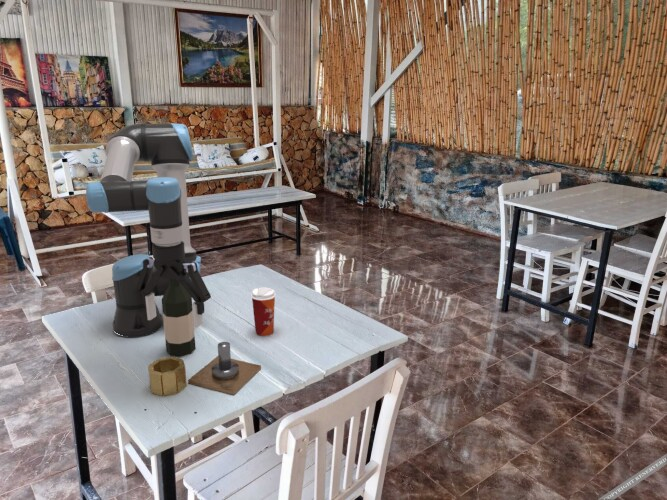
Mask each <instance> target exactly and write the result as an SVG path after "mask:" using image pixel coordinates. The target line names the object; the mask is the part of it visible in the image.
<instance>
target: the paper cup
mask: <svg viewBox="0 0 667 500" xmlns="http://www.w3.org/2000/svg"><path fill="white" fill-rule="evenodd" d="M276 296H277V294H276V292H275V290H274V289H272V288H270V287H256V288H254V289H253V290H252V292H251V294H250V297H251V300H252V311H253V320H254V328H255V329H254V330H255V334H256V335H257V336H259V337H268V336H270V335H272V334H273V333H274V326H275V299H276Z"/></svg>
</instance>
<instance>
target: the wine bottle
mask: <svg viewBox="0 0 667 500" xmlns="http://www.w3.org/2000/svg"><path fill="white" fill-rule="evenodd" d="M180 277H181V276H180ZM161 309H162V318H163V330H164V338H165V339H164V340H165V349H166V353H167V354H168V355H169V357H176V358H182V357H185V356H188V355H192V353H194V351H195V350H196V348H197V347H196V336H195V327H194V315H193V298H192V297H191V296H190V295H189V293H188V292H187V291H186V289H185V288H184V287H183V286H182V284H181V283H179V282H177V280H176V279H175V280H171V279H169V286H168V288H167V290H166V292H165V294H164V296H162V298H161Z"/></svg>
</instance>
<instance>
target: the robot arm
mask: <svg viewBox="0 0 667 500" xmlns="http://www.w3.org/2000/svg"><path fill="white" fill-rule="evenodd" d="M105 155H106V159H105V163H104V166H103V170H102V173H101V177H100V180H99V181H95V182H93V181H92V182H89V183H87V184H86V188H85V197H86V205H87V207H88V210H89V211H90V212H92V213H104V214H107V213H117V212H118V213H120V212H122V213H124V212H141V211H142V212H143V211H148V217H149V228H150V240H151V243H152V244H151V248H152V250H151V252H152V256H150V255H149V254H143V253H139V254H133V255H129V256H125V257H123V258H121V259H119V260H117V261H116V262H114V264H113V265H112V267H111V269H112V270H111V272H112V273H111V274H112V277H111V278H112V279H111V280H112V282H113V283H112V285H113V291H114V298H115V306H116V309H115V312H114V318H113V322H112V329H113V330H114V331H115V332H116V333H118V334H120V335H123V336H128V337H127V338H141V337H146V336H148V335H151V334H154V333H156V332H158V331H159V330H161V328H162V327H164V320H163V314H161V312H160V309H159V308H158V305H157V303H156V297H161V296H162V297H163V296H164V294H165V292H166V290H167V288H168V286H169V279H171V280H175V279H176V280H177V282H179V283H181V284H182V286H183V287H184V288H185V289H186V291H187V292H188V293H189V295H190V296H191V297H192V301H193V302H192V308H193V321H194V329H197V328H199V327H200V326H201V325H202V324H204V321H203V314H204V313H205V302H207V301H208V300H210V299H211V298H212V296H211V295H212V294H211V293H210V291H209V290H208V288H207V286H206V283H205V281H204V280H203V277H202V276H201V264H202V263H201V262H202V257H201V256H199V255H197V251H196V250H195V249H194V248H193V247H192V245H191V234H190V219H189V209H188V208H189V206H188V195H187V194H188V192H187V180H186V178H187V177H186V171H187V170H188V169H189V168H190V162H192V161H194V152H193V147H192V143H191V137H190V134H189V129H188V127H187V126H186V124H184V123H183V124H182V123H172V122H170V123H165V122H164V123H135V124H134V123H133V124H130V125H126V126H124V127H122V128H121V129H119V130H117V131H116V132H114V133H113V134H112V135H111V136H110V137H109V139H108V140H107V142H106V146H105ZM141 162H144V163H145V162H149V163H150V164H151V168H152V169H153V170H154V172H155V173H156V176H157V177H153V178H150V179H148V180H133V175H134V169H135V164H136V163H141ZM180 276H181V277H180ZM114 331H113V332H114ZM140 336H141V337H140Z"/></svg>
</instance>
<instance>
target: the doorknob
mask: <svg viewBox="0 0 667 500" xmlns="http://www.w3.org/2000/svg"><path fill="white" fill-rule="evenodd" d="M231 357H232V356H231V343H230V342H228V341H221V342H218V343H217V356H216V357H215V358H213V359H212V360H211V361H210V362H208V363H207V364H206V365H205V366H204V367H203V368H201V369H200V370H198V372H196V373H195V374H194V375H193V376H191V377H190V378H189V379H188V381H187V382H188V385H193V386H196V387H201V388H205V389H209V390H213V391H216V392H220V393H222V394H223V393H224V394H227V395H232V396H235V395H236V394H237V393H238V392H239V391H240V390H241V389H242V388H243V387H244V386H245V385H246V384H247V383H248V382H249V381H250V380H251V379H252V378H253V377H254V376H256V374H257V373H258V372H260V370H261V369H262V365H260V364H255V363H251V362H247V361H243V360H238V359H235V358H231Z"/></svg>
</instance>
